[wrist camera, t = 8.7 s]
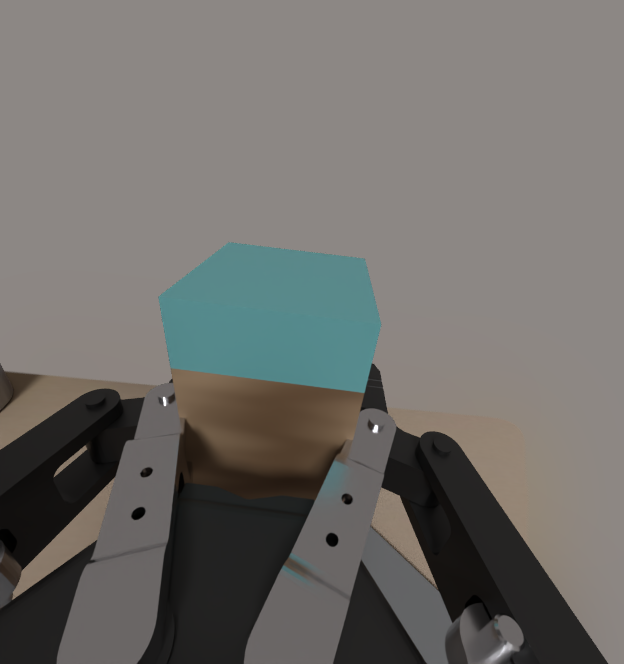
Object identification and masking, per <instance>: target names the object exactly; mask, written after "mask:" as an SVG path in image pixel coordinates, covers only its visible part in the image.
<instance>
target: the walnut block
mask: <svg viewBox="0 0 624 664" xmlns="http://www.w3.org/2000/svg"><path fill="white" fill-rule="evenodd" d="M159 303H160V309H161V314H162V321H163V326H164V332H165V338H166V344H167V349H168V355H169V361H170V367H171V373H172V379H173V385H174V390H175V396H176V402H177V408H178V414H179V417H182V418H185V421H186V427H187V432H186V446H185V449H186V460H187V461H190V462H192V465H193V483H194V484H201V485H209V486H216V487H219V488H222V489H224V490H226V491H229V492H231V493H233V494H236V495H238V496H240V497H243V498H245V499H257V498H266V497H274V496H282V495H284V496H291V497H299V498H306V499H314V500H316V498H317V496H318V494H319V492H320V489H321V487H322V485H323V483H324V481H325V479H326V477H327V474H328V472H329V470H330V468H331V466H332V464H333V461H334V459H335V457H336V456H337V454H338V453H339V454H340V453H341V451H342V449H343V446H344V444H345V442H346V440H347V439H350V440H353V438H354V434H355V430H356V425H357V421H358V417H359V413H360V409H361V405H362V401H363V397H364V393H365V389H366V385H367V381H368V376H369V372H370V368H371V364H372V360H373V356H374V352H375V347H376V344H377V340H378V336H379V331H380V327H381V322H380V318H379V313H378V310H377V305H376V301H375V297H374V293H373V290H372V286H371V282H370V278H369V274H368V270H367V266H366V262H365V259H363V258H354V257H347V256H338V255H330V254H322V253H313V252H305V251H296V250H288V249H280V248H271V247H263V246H255V245H247V244H237V243H227V244H226V245H225V246H223V247H222V248H221V249H220V250H218V251H217V252H216V253H215V254H213V255H212V256H211V257H209V258H208V259H207V260H205V261H204V262H203V263H202V264H200V265H199V266H198V267H196V268H195V269H194V270H192V271H191V272H190V273H189V274H187V275H186V276H185V277H183V278H182V279H181V280H179V281H178V282H177V283H176V284H174V285H173V286H172V287H170V288H169V289H168V290H167V291H165V292H164V293H163V294H161V295H160V296H159Z"/></svg>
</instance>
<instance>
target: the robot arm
mask: <svg viewBox="0 0 624 664" xmlns="http://www.w3.org/2000/svg"><path fill="white" fill-rule="evenodd" d="M12 395H13V387H12V385H11V383H10V381H9V379H8V377H7V375H6V374H5V372H4V370H3V368H2V366H1V365H0V410H1V409H2V408H3V407H4V406H5V405H6V404H7V403H8V402H9V400H10V399H11V397H12ZM186 432H187V427H186V421H185V418H182V417H179V414H178V408H177V402H176V396H175V390H174V385H173V379H171V381H170V382H169V383H167V384H162V385H159V386H157V387H155V388H153V389H151V390H150V391H149V392H148V393H147V394H146V396H145V397H143V398H135V399H125V400H121V399H120V395H119V393H118V392H117V391H115V390H112V389H98V390H94V391H90V392H88V393H86V394H84V395H82V396H80V397H79V398H77V399H76V400H74V401H73V402H71V403H70V404H68V405H67V406H65V407H64V408H62V409H61V410H59V411H58V412H56V413H55V414H53V415H52V416H50V417H49V418H47V419H46V420H44V421H43V422H41V423H40V424H38V425H37V426H35V427H34V428H32V429H31V430H29V431H28V432H27V433H25V434H24V435H22V436H21V437H19V438H18V439H16V440H15V441H13V442H12V443H10V444H9V445H7V446H6V447H4V448H3V449H1V450H0V664H427V663H426V661H425V660H424V658H423V657H422V655H421V654H420V652H419V650H418V649H417V647H416V646H415V644H414V642H413V641H412V639H411V638H410V636H409V635H408V633H407V631H406V630H405V628H404V627H403V625H402V623H401V622H400V620H399V619H398V617H397V615H396V614H395V612H394V611H393V609H392V608H391V606H390V604H389V603H388V601H387V600H386V598H385V596H384V595H383V593H382V592H381V590H380V588H379V587H378V585H377V584H376V582H375V580H374V579H373V577H372V576H371V574H370V572H369V571H368V569H367V568H366V566H365V565H364V563H363V561H362V560H361V557H362V554H363V550H364V547H365V543H366V539H367V536H368V532H369V529H370V525H371V521H372V518H373V514H374V510H375V507H376V503H377V500H378V496H379V492H380V489H381V487H382V488H384V489H386V490H389V491H391V492H393V493H395V494H397V495H400V498H401V500H402V503H403V505H404V508H405V510H406V512H407V515H408V517H409V520H410V522H411V524H412V527H413V529H414V532H415V534H416V537H417V539H418V541H419V544H420V546H421V549H422V551H423V553H424V556H425V558H426V561H427V563H428V566H429V568H430V570H431V573H432V575H433V578H434V580H435V583H436V585H437V587H438V590H439V592H440V595H441V597H442V599H443V602H444V604H445V607H446V609H447V612H448V614H449V616H450V619H451V621H452V625H451V626H450V627H449V628H448V630H447V633H446V637H445V651H446V656H447V660H448V664H608V663H607V661H606V660H605V658H604V657H603V656H602V654H601V653H600V651H599V650H598V648H597V647H596V645H595V644H594V642H593V641H592V639H591V638H590V636H589V635H588V634H587V632H586V631H585V629H584V628H583V626H582V625H581V623H580V622H579V620H578V619H577V617H576V616H575V615H574V613H573V612H572V610H571V609H570V607H569V606H568V604H567V603H566V601H565V600H564V598H563V597H562V595H561V594H560V592H559V591H558V589H557V588H556V587H555V585H554V584H553V582H552V581H551V579H550V578H549V577H548V575H547V573H546V572H545V571H544V569H543V568H542V566H541V565H540V563H539V562H538V560H537V559H536V558H535V556H534V554H533V553H532V551H531V550H530V548H529V547H528V546H527V544H526V543H525V541H524V540H523V538H522V537H521V535H520V534H519V532H518V531H517V529H516V528H515V527H514V525H513V524H512V522H511V521H510V519H509V518H508V516H507V515H506V513H505V512H504V510H503V509H502V507H501V506H500V505H499V503H498V502H497V500H496V499H495V497H494V496H493V494H492V493H491V491H490V490H489V488H488V487H487V486H486V484H485V483H484V481H483V480H482V478H481V477H480V475H479V474H478V472H477V471H476V469H475V468H474V466H473V465H472V464H471V462H470V461H469V459H468V458H467V456H466V455H465V453H464V452H463V450H462V449H461V447H460V446H459V445H458V444H457V443H456V442H455V441H454V440H453V439H452V438H450V437H449V436H447V435H445V434H443V433H439V432H426V433H424V434H423V435H422V436H421V438H419V437H417V436H414V435H411V434H409V433H406V432H404V431H402V430H401V429H399V428H398V427H396V424H395V422H394V420H393V418H392V417H391V416H390V415H388V412H387V407H386V401H385V396H384V391H383V385H382V382H381V375H380V371H379V370H378V369H377V367H376V366H375V365H374V364H371V368H370V372H369V376H368V381H367V385H366V389H365V393H364V397H363V401H362V405H361V409H360V413H359V417H358V421H357V425H356V430H355V434H354V438H353V440H350V439H347V440H346V442H345V444H344V446H343V449H342V451H341V453H340V454H339V453H338V454H337V456H336V457H335V459H334V461H333V464H332V466H331V468H330V470H329V472H328V474H327V477H326V479H325V481H324V483H323V485H322V487H321V489H320V492H319V494H318V496H317V498H316V500H314V499H306V498H299V497H291V496H284V495H282V496H274V497H266V498H257V499H245V498H243V497H240V496H238V495H236V494H233V493H231V492H229V491H226V490H224V489H222V488H219V487H216V486H209V485H201V484H194V483H193V465H192V462H190V461H187V460H186V449H185V446H186ZM85 445H86V447H87V450H86V451H85V452H84V453H82V454H81V455H80V456H79V457H78V458H77V459H75V460H74V461H73V462H72V463H71V464H69V465H68V466H67V467H66V468H65V469H63V470H62V471H61V472H60V473H59V474H58V475H56V476H55V477H54V474H55V472H56V471H57V469H58V468H59V467H60V466H61V465H62V464H63V463H64V462H65V461H67V460H68V459H69V458H70V457H71V456H73V455H74V454H75V453H76V452H77V451H79V450H80V449H81V448H82V447H84V446H85ZM115 476H116V477H115ZM53 477H54V478H53ZM114 477H115V480H114V484H113V487H112V491H111V494H110V498H109V501H108V505H107V508H106V512H105V515H104V519H103V522H102V526H101V529H100V533H99V536H98V540H96V541H95V542H93V543H92V544H91V545H89V546H88V547H86V548H85V549H84V550H82V551H81V552H79V553H78V554H77V555H75V556H74V557H72V558H71V559H70V560H68V561H67V562H65V563H64V564H63V565H61V566H60V567H58V568H57V569H56V570H54V571H53V572H51V573H50V574H49V575H47V576H46V577H44V578H43V579H41V580H40V581H39V582H37V583H36V584H34V585H33V586H32V587H30V588H29V589H27V590H26V591H25V592H23V593H22V594H20V595H19V596H18V597H16V598H15V599H13V600H12V598H13V591H14V589H15V588H16V586H17V584H18V582H19V580H20V577H21V572H22V570H23V569H24V568H25V567H26V566H27V565H28V564H29V563H30V562H31V561H32V560H33V559H34V558H35V557H36V556H37V555H38V554H39V553H40V552H41V551H42V550H43V549H44V548H45V547H46V546H47V545H48V544H49V543H50V542H51V541H52V540H53V539H54V538H55V537H56V536H57V535H58V534H59V533H60V532H61V531H62V530H63V529H64V528H65V527H66V526H67V525H68V524H69V523H70V522H71V521H72V520H73V519H74V518H75V517H76V516H77V515H78V514H79V513H80V512H81V511H82V510H83V509H84V508H85V507H86V506H87V505H88V504H89V503H90V502H91V501H92V500H93V499H94V498H95V497H96V495H97V494H98V493H99V492H100V491H101V490H102V489H103V488H104V487H105V486H106V485H107V484H108V483H109V482H110V481H111V480H112V479H113V478H114Z"/></svg>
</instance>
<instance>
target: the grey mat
mask: <svg viewBox="0 0 624 664" xmlns="http://www.w3.org/2000/svg"><path fill="white" fill-rule="evenodd" d="M361 560H362V561H363V563H364V565H365V566H366V568H367V569H368V571H369V572H370V574H371V576H372V577H373V579H374V580H375V582H376V584H377V585H378V587H379V588H380V590H381V592H382V593H383V595H384V596H385V598H386V600H387V601H388V603H389V604H390V606H391V608H392V609H393V611H394V612H395V614H396V615H397V617H398V619H399V620H400V622H401V623H402V625H403V627H404V628H405V630H406V631H407V633H408V635H409V636H410V638H411V639H412V641H413V642H414V644H415V646H416V647H417V649H418V650H419V652H420V654H421V655H422V657H423V658H424V660H425V661H426V663H427V664H448V660H447V656H446V651H445V637H446V633H447V630H448V628H449V627H450V626H451V625H452V621H451V619H450V616H449V614H448V612H447V609H446V607H445V604H444V602H443V599H442V597H441V595H440V592H439V591H438V590H437V589H436V588H435V587H434V586H433V585H431V584H430V583H429V582H428V581H427V580H426V579H425V578H424V577H423V576H422V575H421V574H420V573H419V572H418V571H417V570H416V569H415V568H414V567H413V566H411V565H410V564H409V563H408V562H407V561H406V560H405V559H404V558H403V557H402V556H401V555H400V554H399V553H398V552H397V551H396V550H395V549H394V548H393V547H391V546H390V545H389V544H388V543H387V542H386V541H385V540H384V539H383V538H382V537H381V536H380V535H379V534H378V533H377V532H376V531H375V530H374V529H373V528H372V527H370V529H369V532H368V536H367V539H366V543H365V547H364V550H363V554H362V557H361Z"/></svg>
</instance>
